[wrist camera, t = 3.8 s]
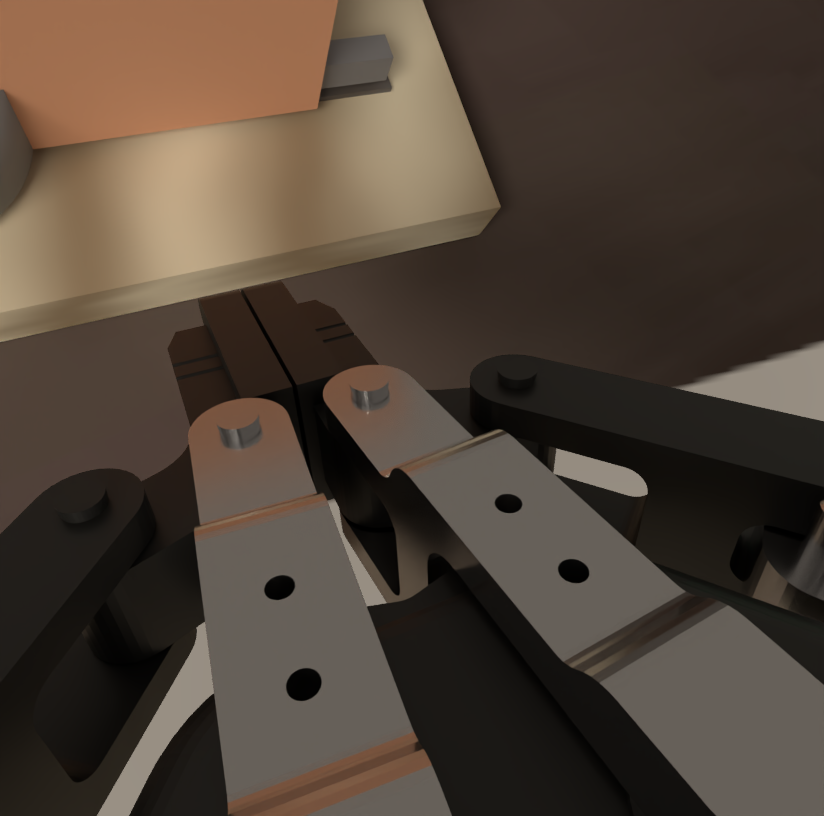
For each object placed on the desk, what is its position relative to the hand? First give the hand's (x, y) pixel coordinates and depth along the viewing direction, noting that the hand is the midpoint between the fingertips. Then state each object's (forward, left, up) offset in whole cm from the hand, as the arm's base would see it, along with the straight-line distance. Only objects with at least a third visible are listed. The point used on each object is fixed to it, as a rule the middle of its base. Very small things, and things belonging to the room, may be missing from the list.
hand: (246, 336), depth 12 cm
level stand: (-11, +8, -8) cm, 15 cm away
